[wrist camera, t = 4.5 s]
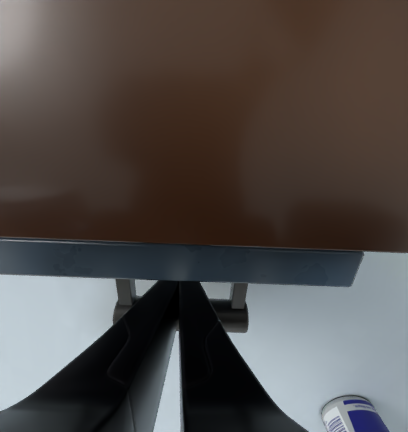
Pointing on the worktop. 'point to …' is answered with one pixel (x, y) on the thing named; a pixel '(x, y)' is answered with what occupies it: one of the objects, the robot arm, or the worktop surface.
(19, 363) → the worktop surface
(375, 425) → the energy drink
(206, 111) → the cabinet
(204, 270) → the drawer
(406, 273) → the worktop surface
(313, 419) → the worktop surface
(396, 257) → the worktop surface
